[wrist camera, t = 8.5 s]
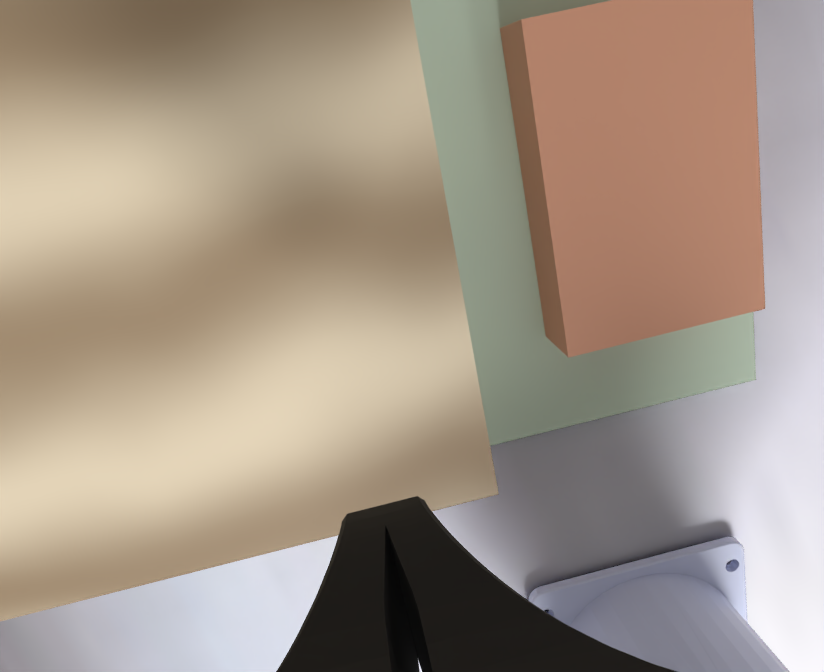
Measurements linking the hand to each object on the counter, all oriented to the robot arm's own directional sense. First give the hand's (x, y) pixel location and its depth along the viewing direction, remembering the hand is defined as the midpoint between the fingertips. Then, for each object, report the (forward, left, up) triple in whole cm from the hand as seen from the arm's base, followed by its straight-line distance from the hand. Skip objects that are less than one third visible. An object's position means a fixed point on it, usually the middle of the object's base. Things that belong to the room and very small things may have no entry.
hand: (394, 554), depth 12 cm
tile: (+4, -9, -8) cm, 13 cm away
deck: (+4, +5, -10) cm, 12 cm away
